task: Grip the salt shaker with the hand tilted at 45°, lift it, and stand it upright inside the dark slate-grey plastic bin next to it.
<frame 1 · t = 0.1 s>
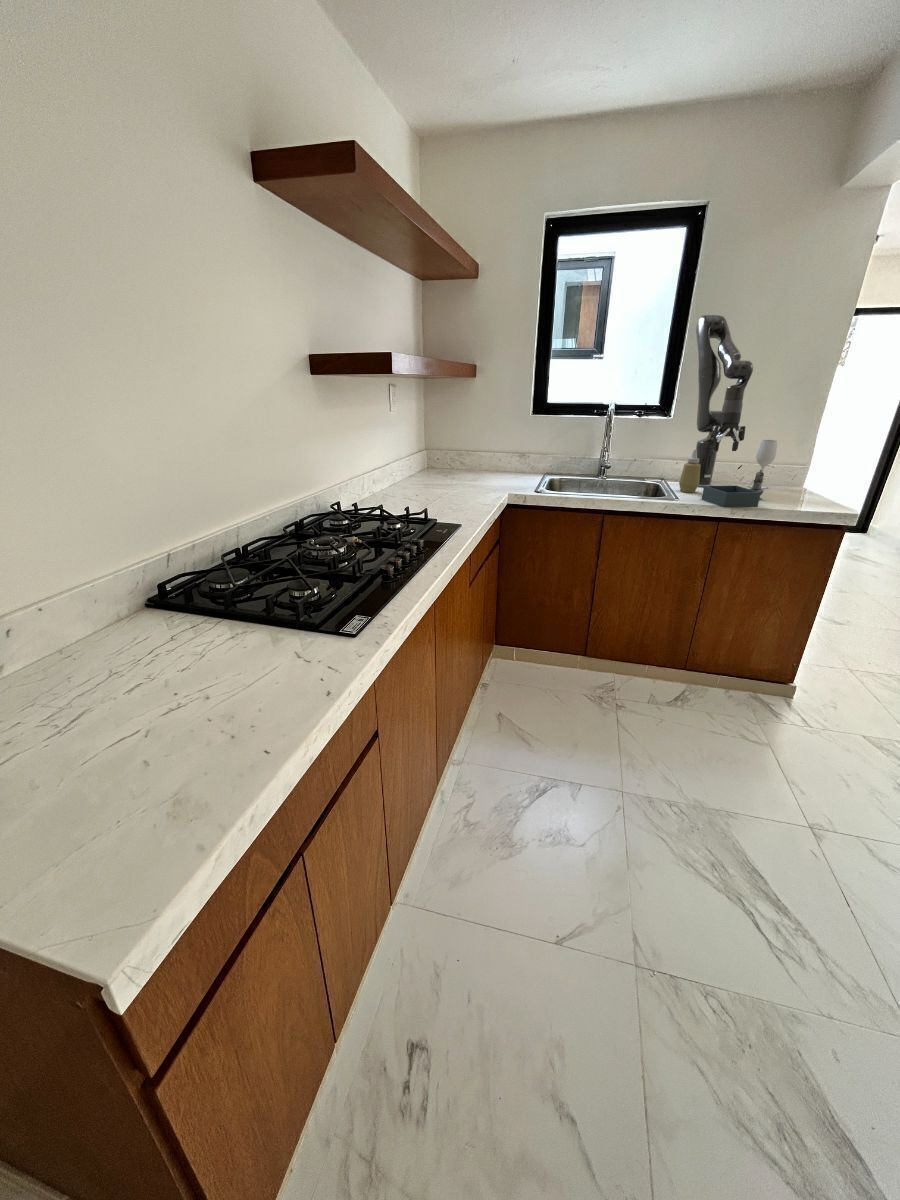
hand: (724, 451, 219), 17 cm above the counter, tool pointing down, fingers open, 8 cm apart
wineglass: (758, 487, 234), on the counter
bin: (728, 502, 201), on the counter
squeeze bottle: (687, 492, 223), on the counter
salt shaker: (753, 499, 209), on the counter
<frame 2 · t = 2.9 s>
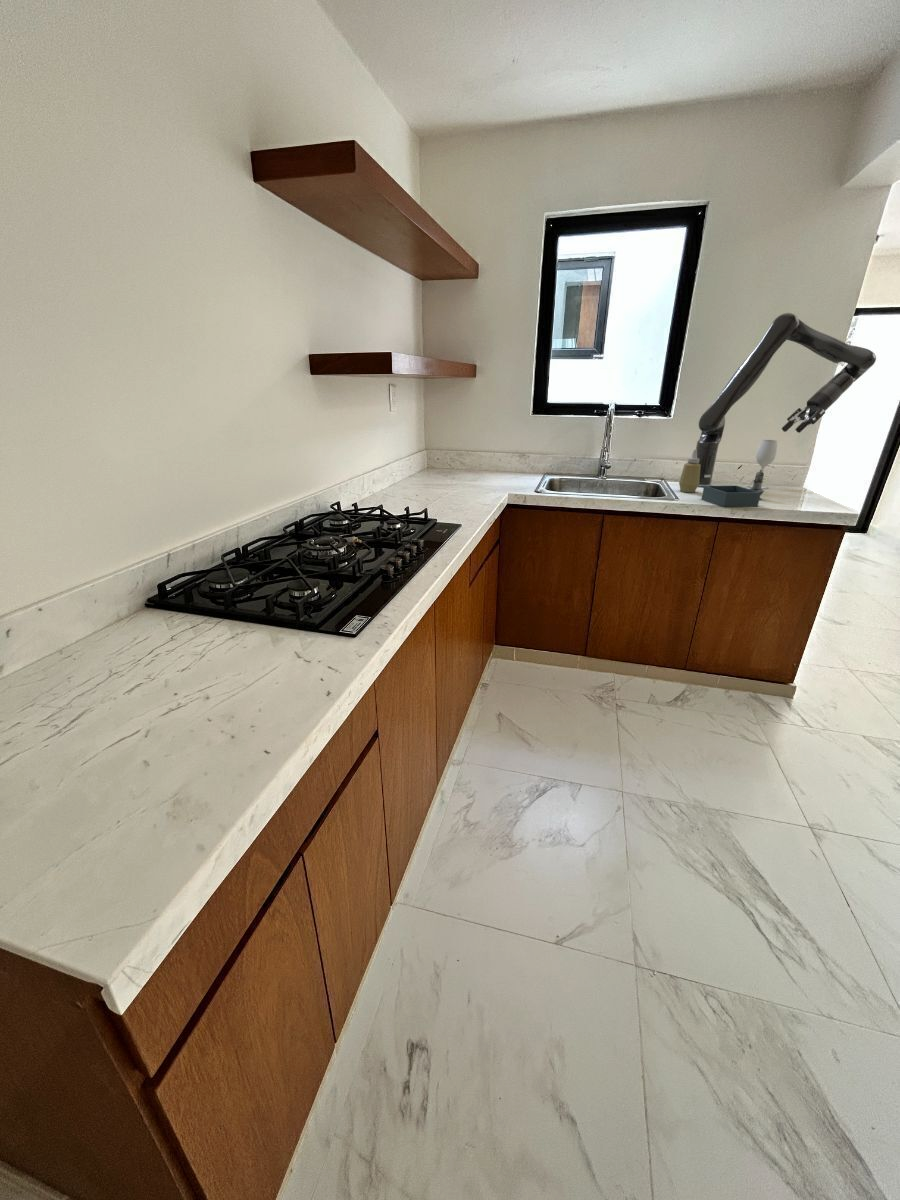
hand: (790, 430, 200), 27 cm above the counter, tool tilted 40°, fingers open, 8 cm apart
nothing on the counter moved.
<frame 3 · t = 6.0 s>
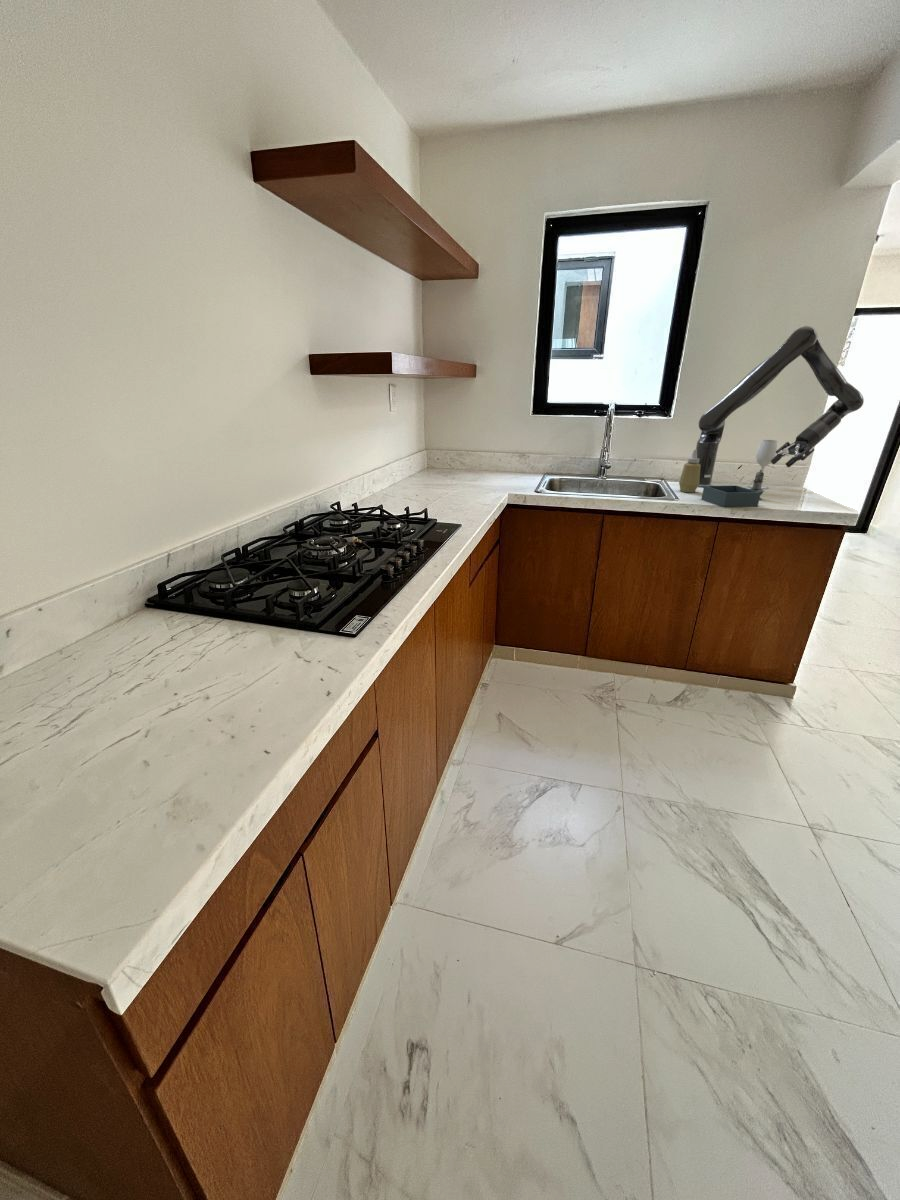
hand: (779, 464, 204), 14 cm above the counter, tool tilted 45°, fingers open, 8 cm apart
nothing on the counter moved.
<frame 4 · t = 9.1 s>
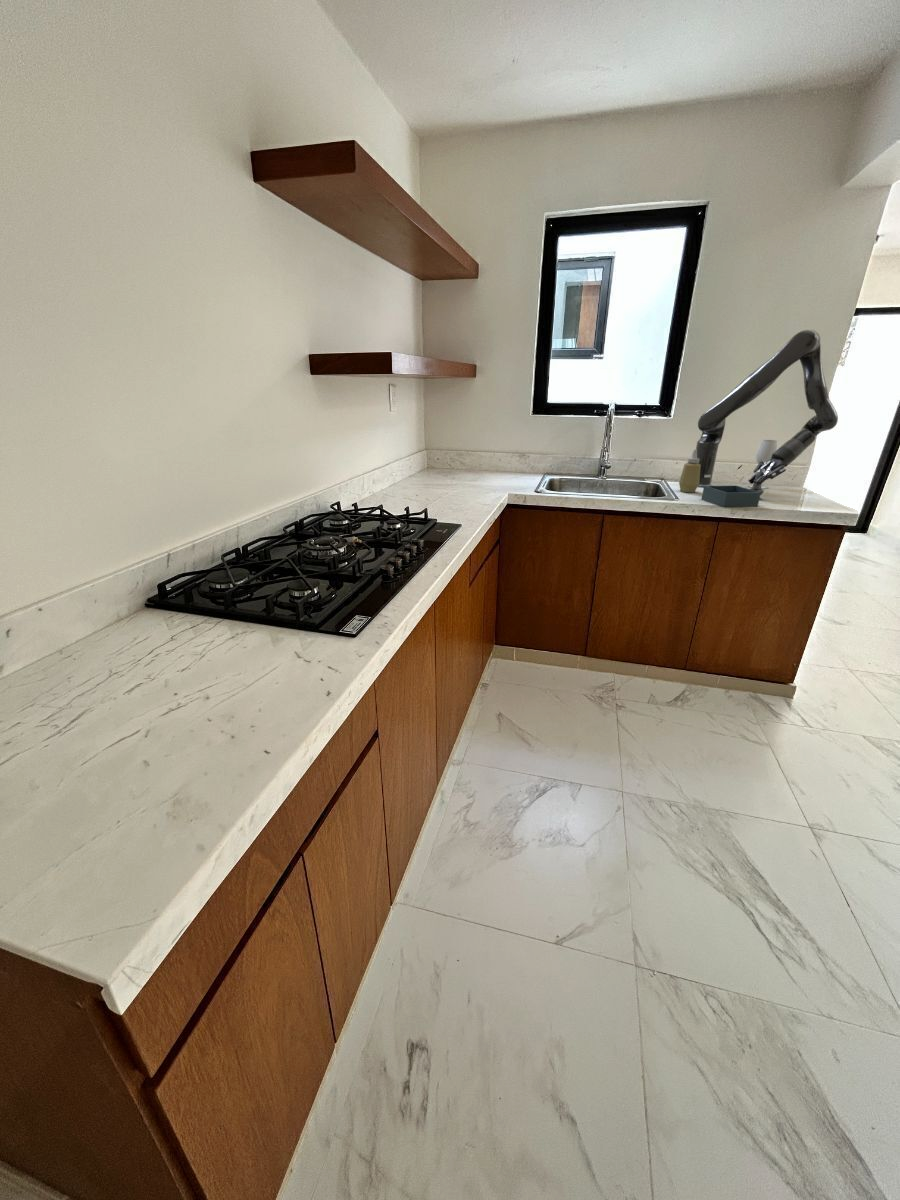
hand: (753, 483, 206), 7 cm above the counter, tool tilted 45°, fingers closed on salt shaker, 3 cm apart
salt shaker: (753, 499, 209), on the counter, touching gripper
everything else where it was.
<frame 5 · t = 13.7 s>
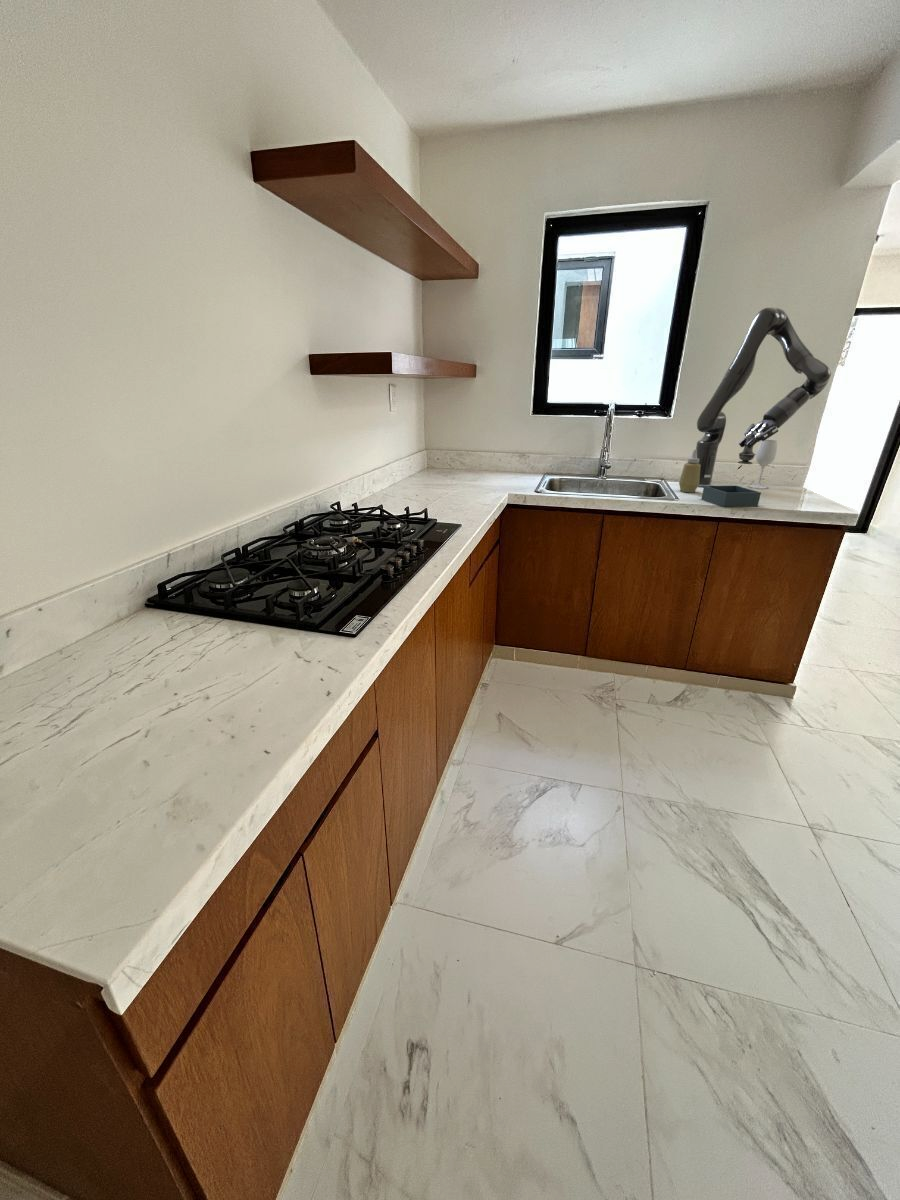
hand: (744, 446, 194), 22 cm above the counter, tool tilted 45°, fingers closed on salt shaker, 3 cm apart
salt shaker: (744, 463, 197), point 15 cm above the counter, touching gripper
everything else where it was.
when the fingers open (7 cm above the counter, at t = 18.6 s): salt shaker stays where it is, resting on bin.
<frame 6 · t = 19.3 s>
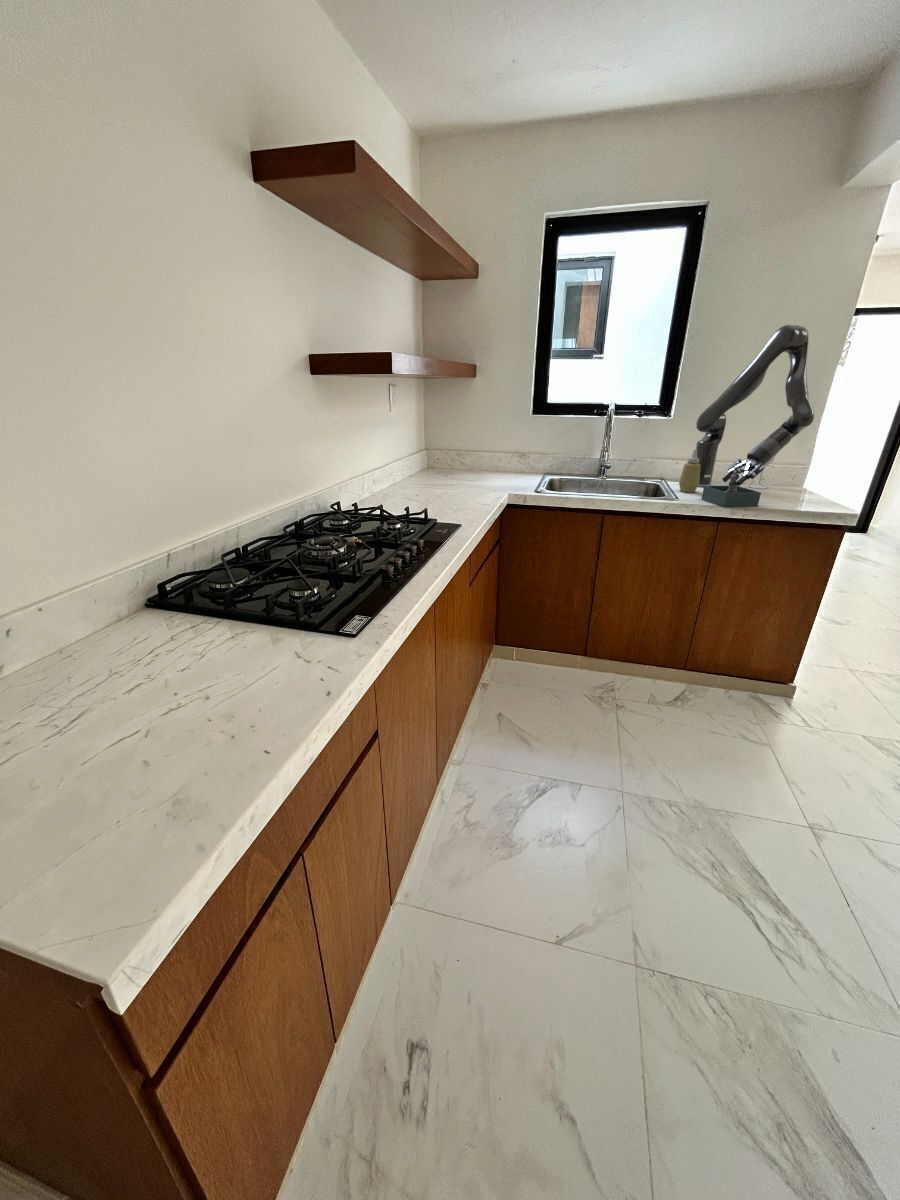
hand: (730, 482, 198), 8 cm above the counter, tool tilted 45°, fingers open, 8 cm apart
salt shaker: (729, 502, 201), resting on bin
everything else where it was.
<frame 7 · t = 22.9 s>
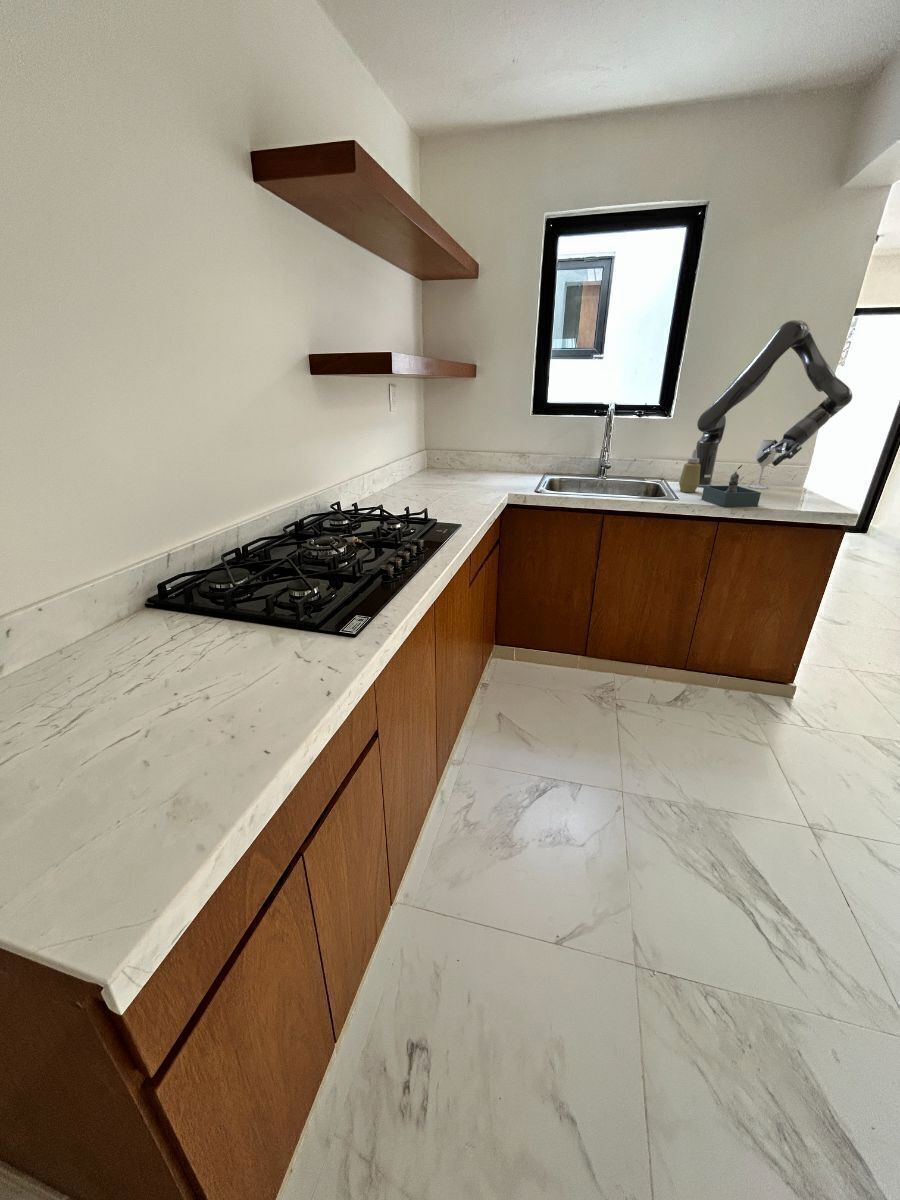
hand: (765, 462, 197), 15 cm above the counter, tool tilted 45°, fingers open, 8 cm apart
nothing on the counter moved.
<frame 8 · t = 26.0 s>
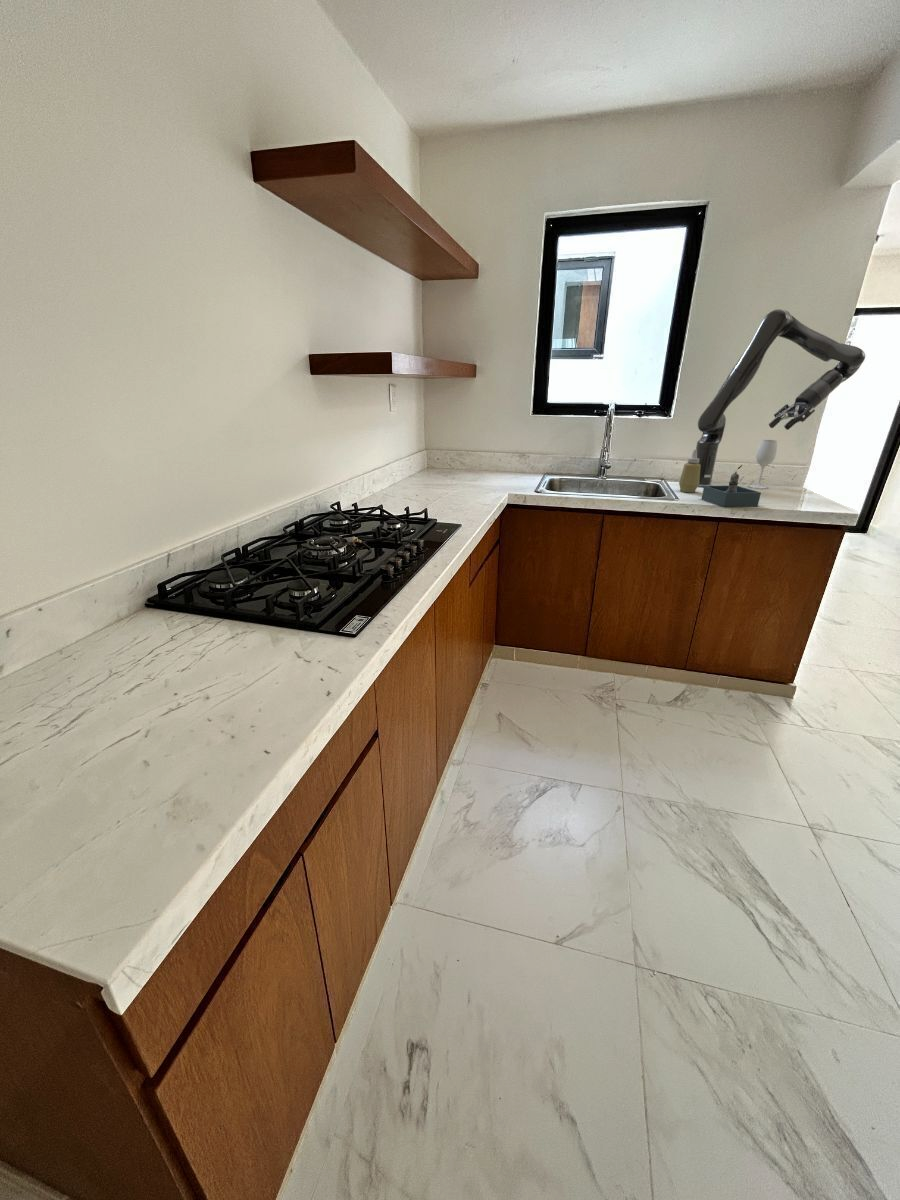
hand: (777, 427, 194), 29 cm above the counter, tool tilted 45°, fingers open, 8 cm apart
nothing on the counter moved.
at the end: salt shaker inside the target area in the bin (0.2 cm from its centre), point 0.3 cm above the bin's base; salt shaker tilted 0°; the gripper is holding nothing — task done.
